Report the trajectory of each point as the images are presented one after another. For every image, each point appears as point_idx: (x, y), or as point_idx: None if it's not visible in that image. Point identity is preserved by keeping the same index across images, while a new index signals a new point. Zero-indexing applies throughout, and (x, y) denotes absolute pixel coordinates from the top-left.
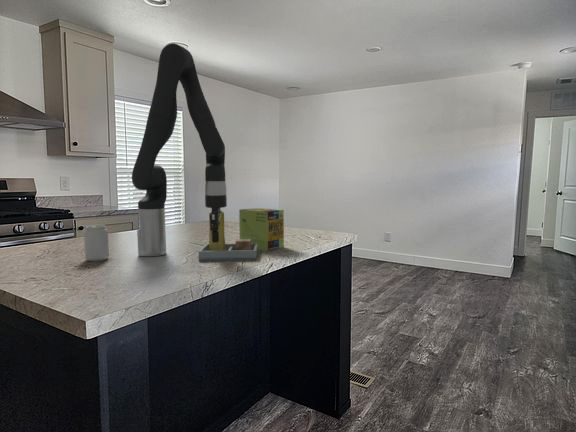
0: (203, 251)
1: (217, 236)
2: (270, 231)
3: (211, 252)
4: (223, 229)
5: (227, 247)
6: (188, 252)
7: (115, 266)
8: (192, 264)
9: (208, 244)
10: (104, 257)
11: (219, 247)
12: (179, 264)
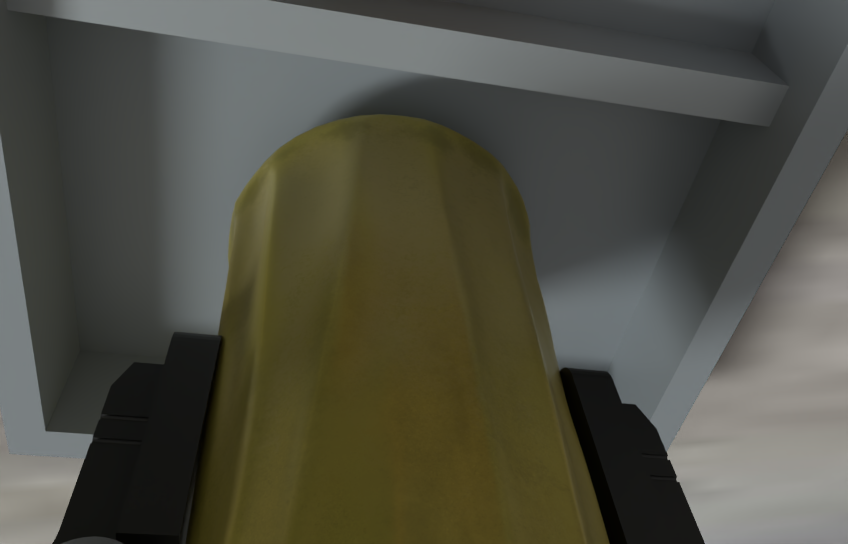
0: (666, 444)
1: (634, 473)
2: None
3: (708, 348)
4: (523, 510)
5: (26, 74)
6: (53, 515)
7: None
8: (759, 432)
9: (43, 420)
10: None
11: (527, 271)
12: (695, 518)
